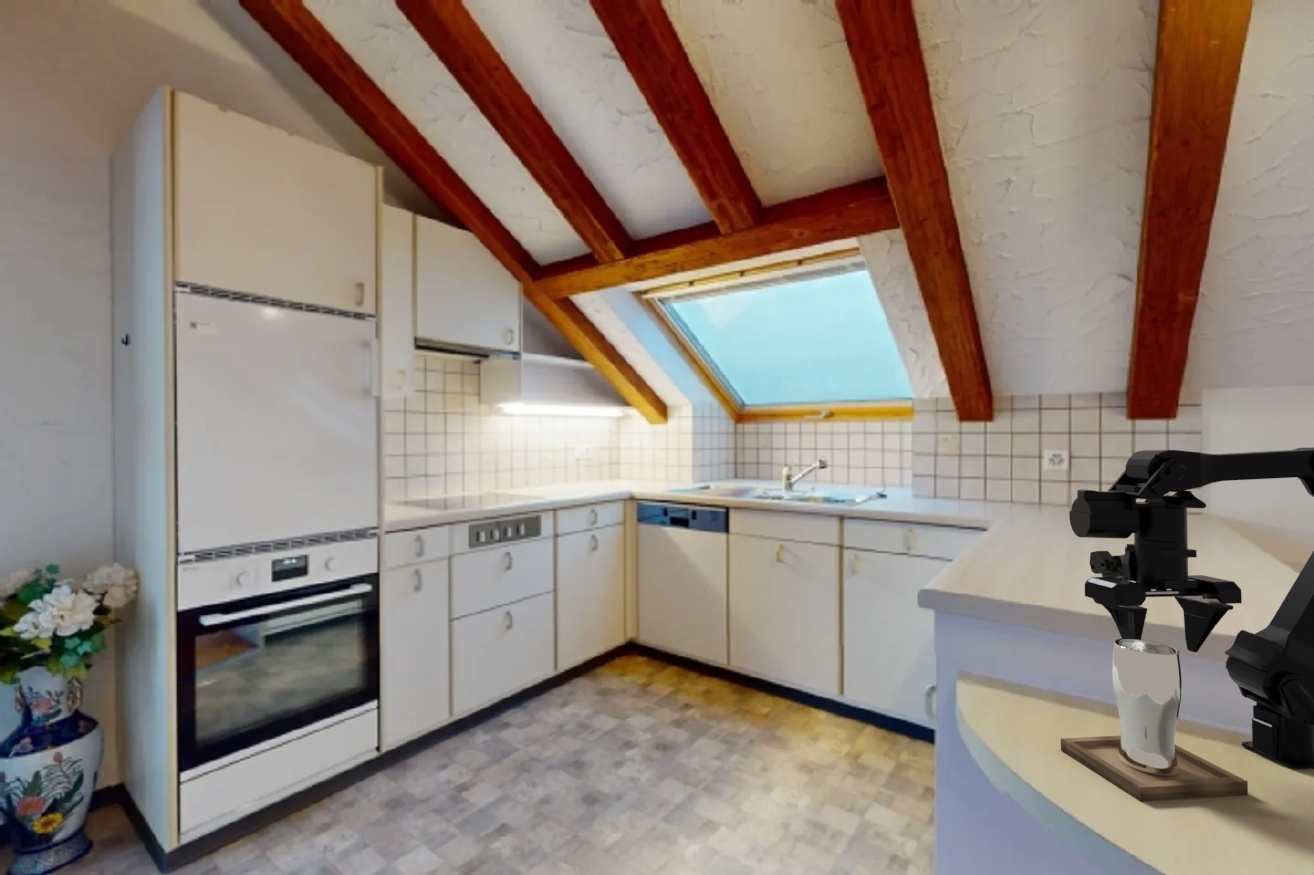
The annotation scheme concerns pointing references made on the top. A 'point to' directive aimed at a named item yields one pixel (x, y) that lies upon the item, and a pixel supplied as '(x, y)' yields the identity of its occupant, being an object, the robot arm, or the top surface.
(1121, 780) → the walnut tray
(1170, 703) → the silver metal tumbler
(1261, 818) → the top surface
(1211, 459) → the robot arm
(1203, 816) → the top surface
